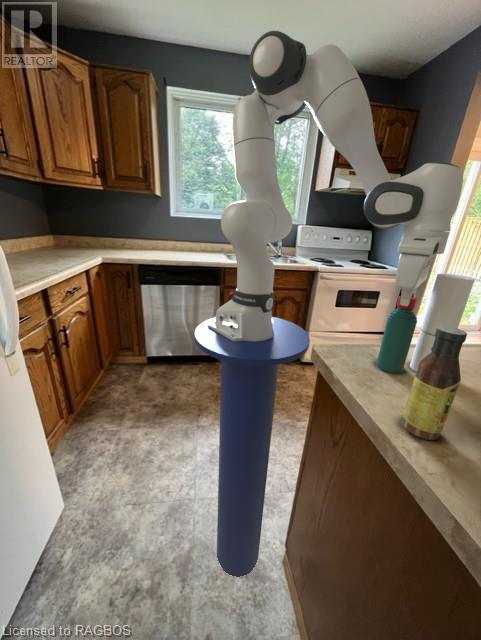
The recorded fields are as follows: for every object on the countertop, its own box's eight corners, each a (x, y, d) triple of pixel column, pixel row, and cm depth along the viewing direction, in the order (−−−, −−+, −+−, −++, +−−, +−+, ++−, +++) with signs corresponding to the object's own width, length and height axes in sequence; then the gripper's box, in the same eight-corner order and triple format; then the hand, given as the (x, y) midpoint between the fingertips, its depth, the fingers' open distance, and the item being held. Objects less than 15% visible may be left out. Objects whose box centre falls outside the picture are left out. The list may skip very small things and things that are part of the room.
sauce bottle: (442, 447, 46) (482, 342, 40) (400, 433, 49) (432, 332, 42) (437, 424, 52) (472, 328, 45) (400, 413, 55) (428, 321, 48)
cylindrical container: (443, 380, 68) (478, 281, 59) (410, 371, 71) (439, 276, 62) (439, 367, 73) (471, 276, 65) (409, 360, 77) (435, 272, 68)
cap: (395, 306, 66) (397, 297, 66) (398, 303, 69) (400, 294, 68) (412, 310, 64) (415, 300, 63) (415, 307, 67) (418, 297, 66)
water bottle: (373, 367, 72) (390, 298, 66) (379, 358, 77) (395, 294, 70) (400, 376, 68) (420, 304, 62) (405, 366, 73) (424, 299, 66)
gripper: (414, 241, 71) (401, 293, 76) (397, 244, 56) (382, 308, 61) (443, 243, 67) (427, 297, 72) (433, 247, 52) (414, 314, 57)
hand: (406, 302), depth 66 cm, fingers open, 5 cm apart
